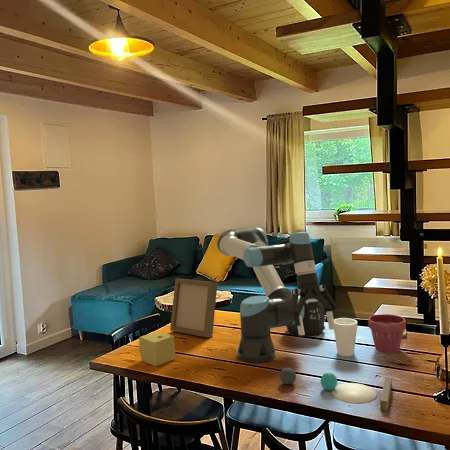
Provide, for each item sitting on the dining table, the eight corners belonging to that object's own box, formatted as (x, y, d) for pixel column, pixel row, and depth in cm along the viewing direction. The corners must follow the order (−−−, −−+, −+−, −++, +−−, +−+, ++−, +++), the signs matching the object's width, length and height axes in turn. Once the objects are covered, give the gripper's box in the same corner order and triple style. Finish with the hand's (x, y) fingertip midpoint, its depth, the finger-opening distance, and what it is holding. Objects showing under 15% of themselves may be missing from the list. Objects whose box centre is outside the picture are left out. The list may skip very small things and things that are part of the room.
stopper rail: (380, 410, 139) (380, 400, 139) (385, 385, 156) (385, 376, 155) (387, 411, 138) (387, 401, 138) (391, 385, 155) (391, 377, 155)
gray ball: (278, 386, 158) (277, 370, 158) (282, 379, 163) (282, 364, 163) (293, 388, 156) (293, 372, 156) (298, 381, 161) (297, 366, 161)
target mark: (328, 399, 147) (328, 398, 147) (335, 381, 160) (335, 380, 160) (374, 406, 142) (374, 405, 142) (378, 386, 155) (378, 386, 155)
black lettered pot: (296, 323, 227) (295, 291, 225) (330, 328, 216) (330, 295, 215) (277, 333, 212) (276, 300, 211) (314, 340, 202) (313, 304, 200)
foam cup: (358, 358, 180) (358, 325, 178) (334, 357, 182) (333, 324, 180) (356, 349, 189) (356, 318, 188) (333, 348, 191) (332, 317, 190)
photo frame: (206, 339, 208) (204, 284, 206) (170, 332, 221) (167, 280, 219) (225, 330, 220) (223, 278, 218) (189, 324, 233) (187, 274, 231)
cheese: (160, 353, 194) (159, 330, 193) (177, 359, 186) (175, 335, 185) (139, 361, 187) (138, 336, 186) (155, 367, 179) (154, 342, 178)
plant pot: (370, 341, 197) (370, 312, 196) (406, 345, 191) (406, 314, 190) (367, 354, 184) (366, 322, 182) (405, 357, 178) (405, 325, 177)
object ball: (319, 391, 153) (318, 375, 152) (322, 384, 158) (322, 369, 157) (336, 394, 151) (335, 377, 150) (338, 387, 156) (338, 371, 155)
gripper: (283, 275, 163) (294, 337, 158) (339, 269, 174) (351, 326, 169) (272, 278, 169) (282, 337, 165) (327, 272, 180) (338, 327, 176)
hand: (317, 332), depth 167 cm, fingers open, 13 cm apart
